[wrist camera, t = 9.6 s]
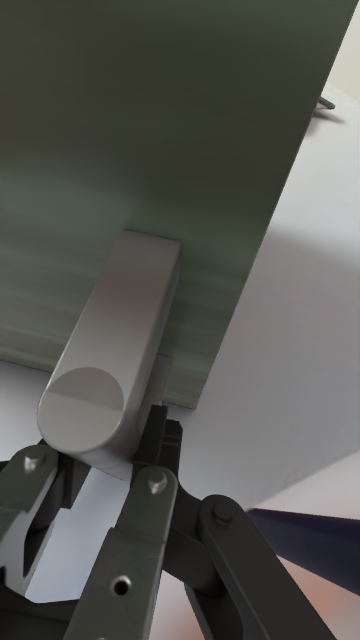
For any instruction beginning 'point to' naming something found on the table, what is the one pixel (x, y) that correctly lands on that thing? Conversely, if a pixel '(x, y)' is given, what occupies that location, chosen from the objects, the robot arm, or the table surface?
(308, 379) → the table surface
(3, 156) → the cupboard door
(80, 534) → the table surface
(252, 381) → the table surface
